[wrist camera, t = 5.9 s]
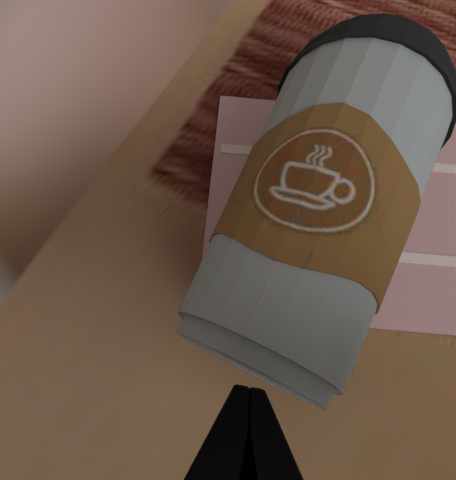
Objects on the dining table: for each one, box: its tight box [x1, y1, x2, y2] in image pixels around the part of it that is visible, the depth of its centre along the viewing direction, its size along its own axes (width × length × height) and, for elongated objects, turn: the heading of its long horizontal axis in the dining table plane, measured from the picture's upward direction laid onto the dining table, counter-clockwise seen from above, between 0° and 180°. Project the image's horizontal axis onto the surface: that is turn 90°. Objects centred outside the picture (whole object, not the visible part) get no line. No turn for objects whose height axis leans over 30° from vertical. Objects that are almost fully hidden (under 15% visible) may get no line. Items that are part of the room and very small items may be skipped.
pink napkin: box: [201, 96, 456, 336], centre depth 20 cm, size 16×14×1 cm
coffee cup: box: [177, 14, 456, 410], centre depth 14 cm, size 8×8×15 cm
